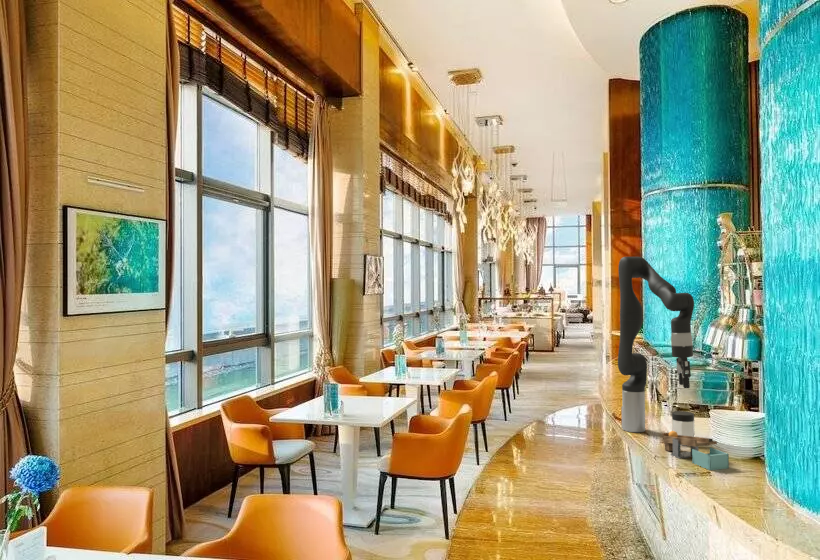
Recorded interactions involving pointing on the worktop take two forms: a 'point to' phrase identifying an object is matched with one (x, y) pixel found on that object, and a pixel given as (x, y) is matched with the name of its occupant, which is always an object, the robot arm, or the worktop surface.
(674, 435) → the ball
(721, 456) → the box
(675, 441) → the fulcrum
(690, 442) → the lever
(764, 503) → the worktop surface
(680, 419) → the jar
